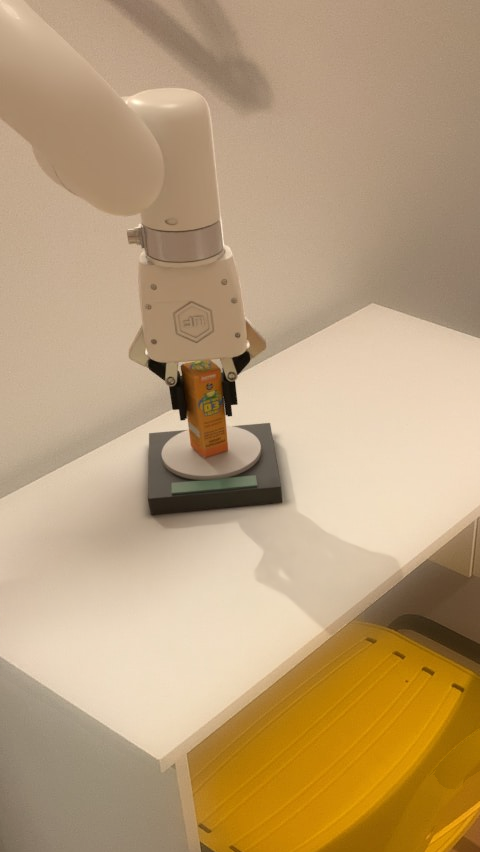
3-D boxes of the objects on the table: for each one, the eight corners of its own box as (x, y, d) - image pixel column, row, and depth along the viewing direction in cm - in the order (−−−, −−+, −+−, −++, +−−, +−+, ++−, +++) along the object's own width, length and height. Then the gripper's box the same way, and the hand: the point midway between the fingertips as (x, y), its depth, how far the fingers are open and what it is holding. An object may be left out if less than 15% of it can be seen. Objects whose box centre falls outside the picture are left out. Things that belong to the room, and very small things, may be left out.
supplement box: (204, 460, 105) (192, 375, 98) (190, 447, 107) (177, 363, 100) (231, 451, 106) (221, 366, 99) (217, 438, 108) (206, 355, 102)
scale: (150, 515, 102) (146, 494, 100) (151, 448, 112) (148, 428, 110) (282, 502, 103) (280, 481, 101) (271, 437, 114) (269, 417, 112)
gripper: (92, 258, 88) (126, 436, 100) (275, 246, 90) (287, 422, 102) (96, 231, 93) (128, 402, 105) (268, 220, 95) (280, 390, 107)
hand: (205, 410), depth 103 cm, fingers closed on supplement box, 4 cm apart
